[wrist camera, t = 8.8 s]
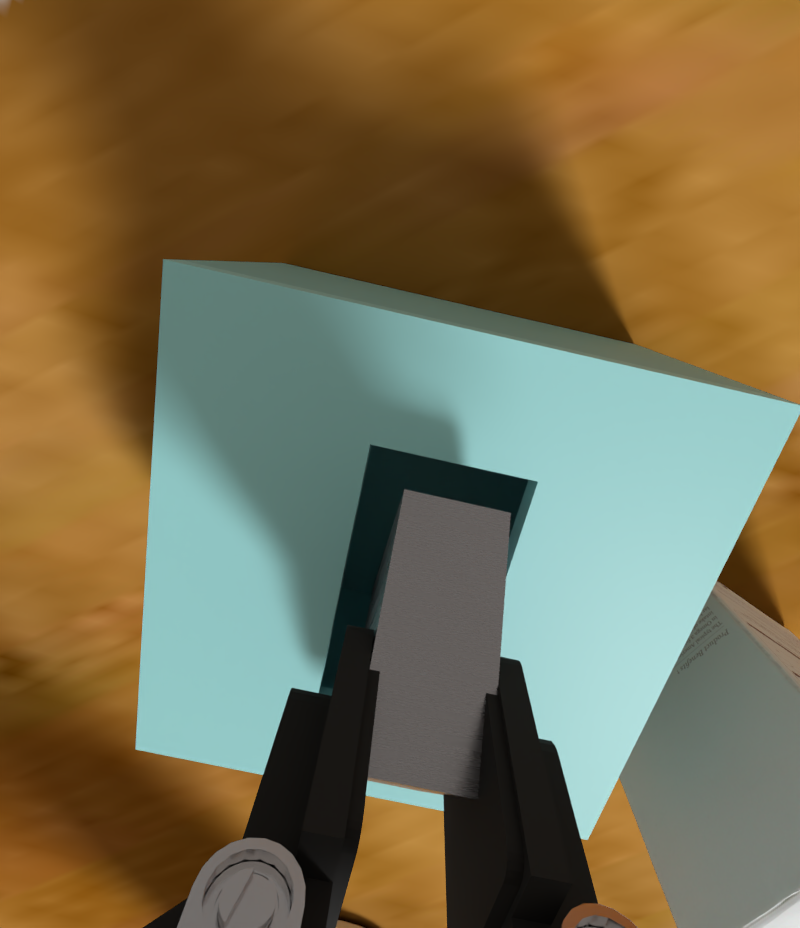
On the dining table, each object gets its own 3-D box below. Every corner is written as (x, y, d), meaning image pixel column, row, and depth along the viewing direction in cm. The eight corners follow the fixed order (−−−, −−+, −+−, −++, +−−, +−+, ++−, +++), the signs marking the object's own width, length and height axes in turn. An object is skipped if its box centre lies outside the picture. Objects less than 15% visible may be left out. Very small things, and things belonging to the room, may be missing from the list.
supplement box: (677, 724, 27) (869, 1072, 16) (566, 651, 26) (682, 970, 14) (793, 628, 25) (1121, 951, 13) (677, 544, 24) (925, 817, 12)
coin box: (634, 344, 21) (803, 406, 12) (528, 631, 26) (587, 839, 16) (283, 263, 21) (163, 259, 11) (242, 571, 25) (135, 749, 16)
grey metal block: (511, 512, 11) (489, 801, 8) (446, 597, 16) (420, 791, 13) (404, 488, 11) (349, 773, 8) (374, 581, 16) (335, 774, 13)
